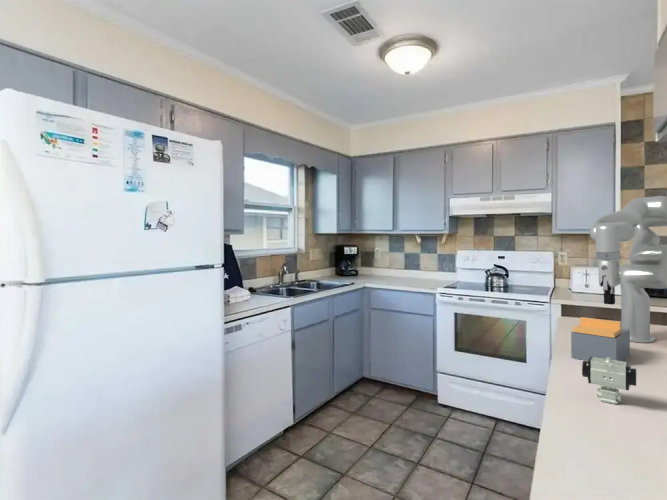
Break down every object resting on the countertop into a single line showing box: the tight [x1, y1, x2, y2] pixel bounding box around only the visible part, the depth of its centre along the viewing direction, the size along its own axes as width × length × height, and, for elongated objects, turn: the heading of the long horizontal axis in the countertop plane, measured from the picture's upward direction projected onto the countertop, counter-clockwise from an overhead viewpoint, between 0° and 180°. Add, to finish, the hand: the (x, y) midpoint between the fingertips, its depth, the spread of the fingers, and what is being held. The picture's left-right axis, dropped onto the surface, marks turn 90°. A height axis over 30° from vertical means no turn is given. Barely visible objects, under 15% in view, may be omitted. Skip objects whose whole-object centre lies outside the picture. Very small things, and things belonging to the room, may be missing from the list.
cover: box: [572, 316, 621, 338], centre depth 138 cm, size 9×12×4 cm
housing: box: [570, 329, 631, 362], centre depth 141 cm, size 18×14×10 cm
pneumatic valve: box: [581, 357, 638, 405], centre depth 104 cm, size 6×12×12 cm, turn 50°
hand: (609, 303), depth 148 cm, fingers closed
